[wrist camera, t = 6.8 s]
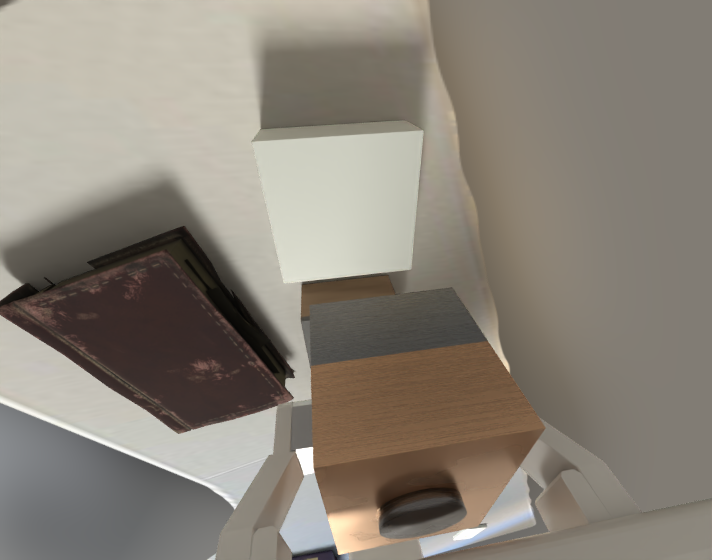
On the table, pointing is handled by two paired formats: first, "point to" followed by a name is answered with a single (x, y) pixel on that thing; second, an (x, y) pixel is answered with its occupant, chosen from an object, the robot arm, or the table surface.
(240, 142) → the table surface
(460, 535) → the external hard drive
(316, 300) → the walnut stand
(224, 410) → the diary
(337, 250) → the grey stand
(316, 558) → the book
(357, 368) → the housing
